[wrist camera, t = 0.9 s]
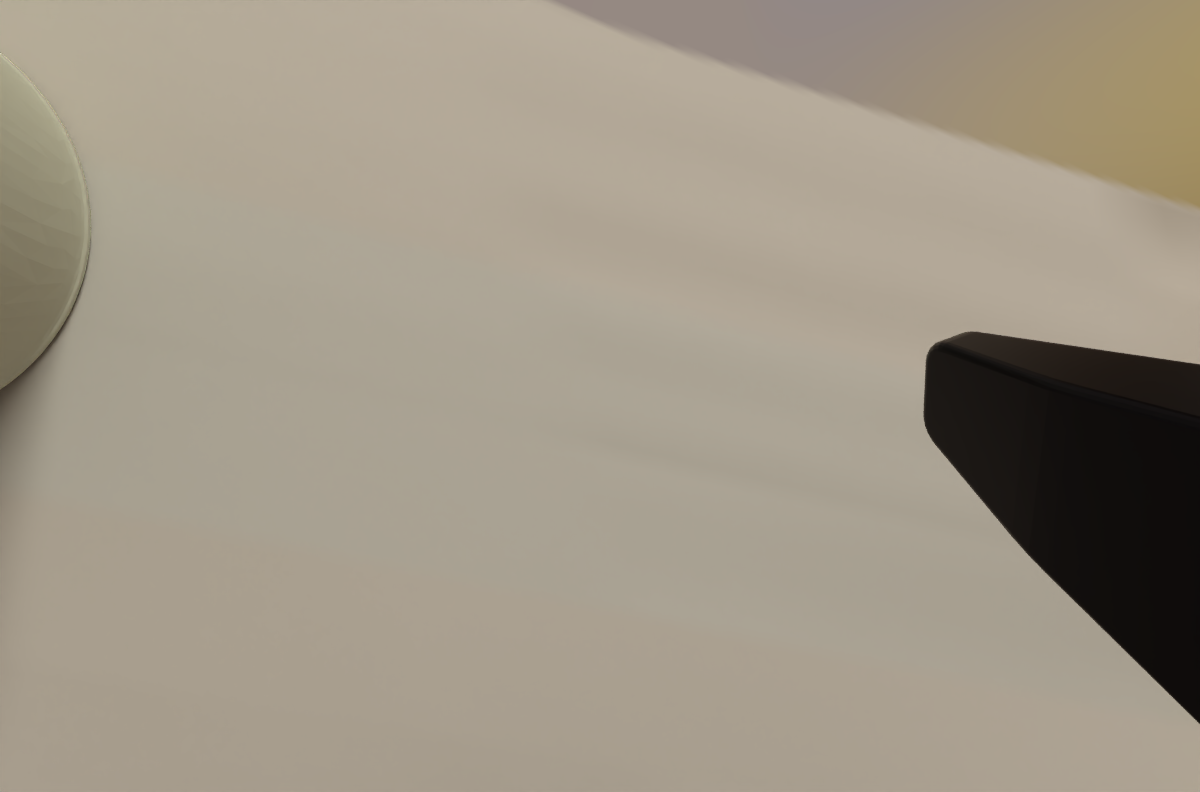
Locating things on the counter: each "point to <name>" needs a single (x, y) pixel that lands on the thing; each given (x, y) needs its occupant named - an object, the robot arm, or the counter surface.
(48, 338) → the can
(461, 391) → the counter surface
